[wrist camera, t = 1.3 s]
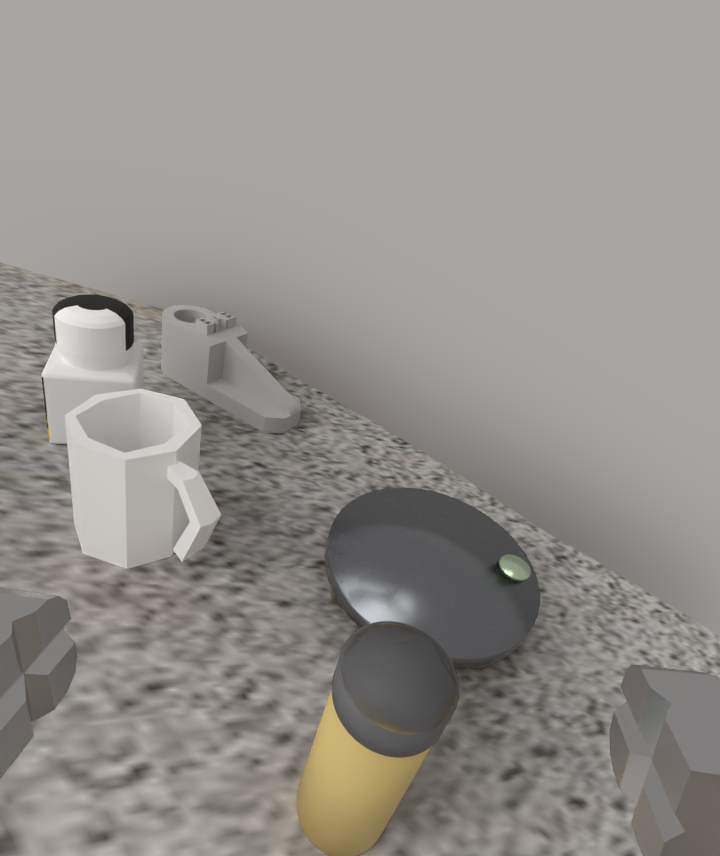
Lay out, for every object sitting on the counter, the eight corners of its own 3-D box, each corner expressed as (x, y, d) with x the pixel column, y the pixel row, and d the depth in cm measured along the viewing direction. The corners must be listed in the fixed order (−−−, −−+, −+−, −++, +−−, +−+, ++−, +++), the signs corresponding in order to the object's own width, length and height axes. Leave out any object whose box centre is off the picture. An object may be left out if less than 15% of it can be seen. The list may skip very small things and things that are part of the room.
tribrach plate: (280, 626, 38) (289, 585, 35) (361, 497, 51) (371, 461, 48) (504, 736, 35) (531, 698, 32) (528, 568, 48) (548, 533, 45)
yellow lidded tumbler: (277, 828, 28) (318, 698, 21) (319, 735, 32) (364, 603, 26) (370, 881, 27) (443, 761, 20) (400, 778, 31) (469, 652, 25)
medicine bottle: (64, 401, 53) (54, 282, 47) (143, 405, 55) (143, 292, 49) (48, 445, 47) (33, 316, 41) (136, 448, 50) (136, 327, 43)
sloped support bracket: (273, 440, 56) (284, 371, 51) (150, 368, 62) (150, 301, 57) (306, 420, 60) (319, 355, 56) (188, 354, 66) (191, 291, 62)
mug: (49, 524, 40) (36, 414, 35) (148, 476, 47) (149, 376, 42) (158, 620, 36) (162, 510, 31) (250, 552, 43) (266, 451, 37)
